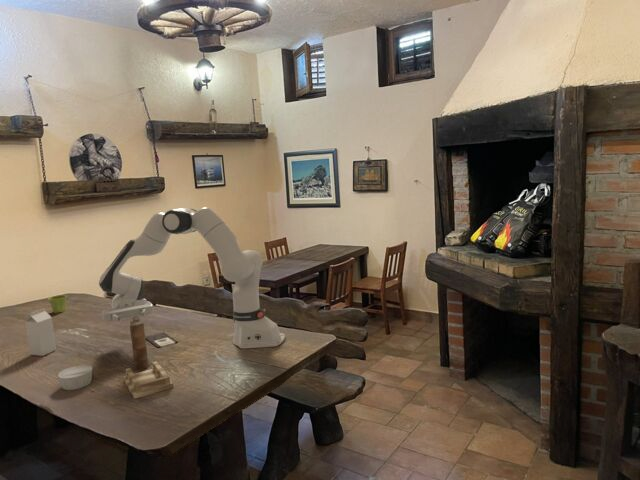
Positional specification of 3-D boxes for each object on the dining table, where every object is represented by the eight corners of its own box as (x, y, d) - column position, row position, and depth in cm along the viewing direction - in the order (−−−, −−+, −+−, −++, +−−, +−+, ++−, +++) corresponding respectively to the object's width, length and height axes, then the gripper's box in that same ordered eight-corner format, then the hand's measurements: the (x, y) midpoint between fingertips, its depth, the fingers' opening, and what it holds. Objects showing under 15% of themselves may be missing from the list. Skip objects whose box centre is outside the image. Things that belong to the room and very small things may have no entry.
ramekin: (70, 394, 161) (68, 380, 160) (53, 388, 167) (51, 374, 166) (100, 381, 171) (98, 367, 170) (82, 376, 176) (81, 362, 176)
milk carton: (56, 350, 206) (50, 308, 204) (42, 356, 200) (35, 313, 197) (44, 349, 209) (38, 308, 206) (30, 355, 202) (23, 312, 199)
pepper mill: (151, 364, 183) (145, 314, 181) (144, 369, 178) (137, 318, 176) (139, 364, 184) (133, 314, 181) (132, 369, 179) (125, 318, 177)
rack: (124, 380, 170) (122, 370, 169) (160, 370, 177) (159, 360, 176) (134, 398, 155) (132, 387, 154) (173, 387, 162) (172, 376, 161)
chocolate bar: (163, 332, 221) (177, 341, 207) (164, 334, 221) (178, 343, 207) (144, 337, 215) (157, 346, 201) (144, 339, 216) (157, 349, 201)
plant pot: (57, 309, 277) (55, 295, 275) (72, 309, 275) (70, 294, 274) (46, 314, 267) (44, 299, 266) (61, 314, 266) (59, 299, 265)
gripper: (98, 306, 196) (102, 314, 184) (149, 297, 206) (155, 304, 194) (100, 320, 197) (103, 329, 185) (150, 311, 207) (157, 319, 195)
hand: (130, 316), depth 189 cm, fingers open, 8 cm apart
